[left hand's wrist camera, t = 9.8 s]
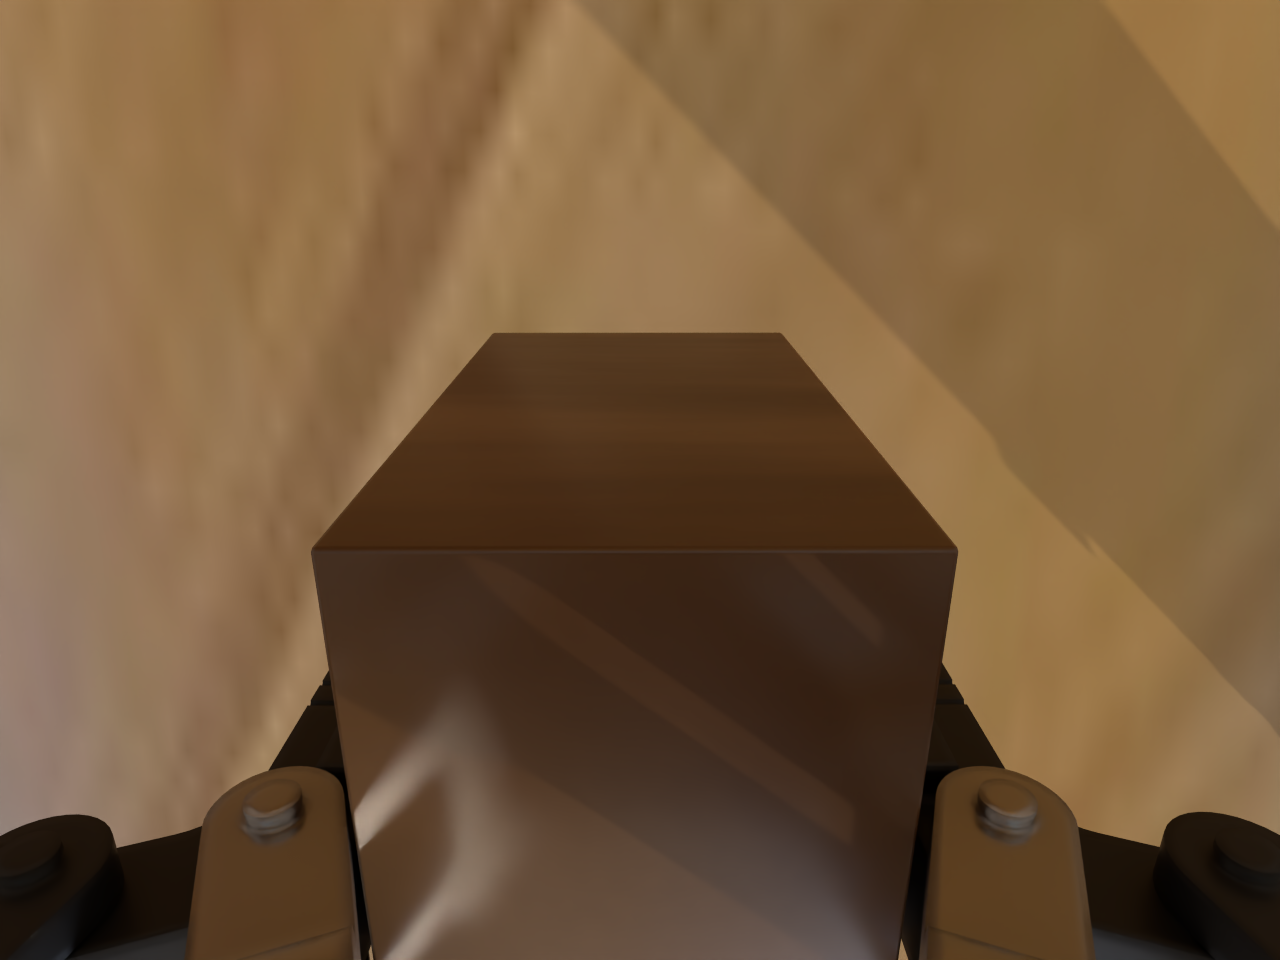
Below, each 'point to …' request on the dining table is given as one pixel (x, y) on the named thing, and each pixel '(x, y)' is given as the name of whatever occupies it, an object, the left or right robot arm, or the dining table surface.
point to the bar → (635, 660)
